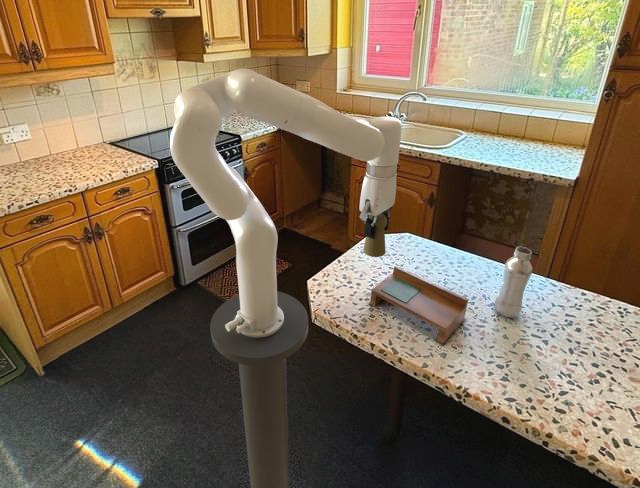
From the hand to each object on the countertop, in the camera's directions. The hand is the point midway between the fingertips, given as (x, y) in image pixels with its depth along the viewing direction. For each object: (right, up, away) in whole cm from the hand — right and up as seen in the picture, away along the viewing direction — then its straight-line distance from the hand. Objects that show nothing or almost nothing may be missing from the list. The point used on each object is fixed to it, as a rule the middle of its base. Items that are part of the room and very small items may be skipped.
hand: (376, 232), depth 105 cm
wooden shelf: (+12, -22, +4) cm, 25 cm away
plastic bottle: (+36, -22, +4) cm, 43 cm away
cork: (0, -5, +3) cm, 6 cm away
